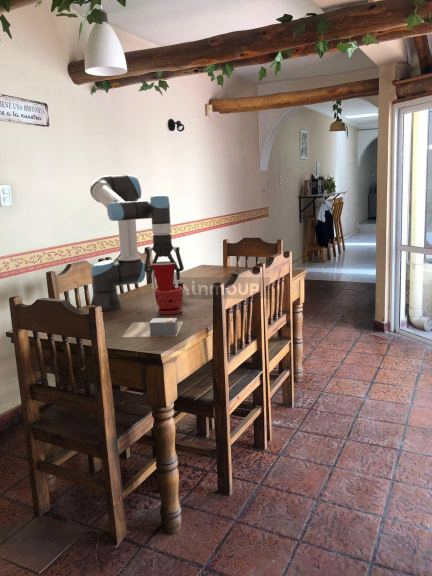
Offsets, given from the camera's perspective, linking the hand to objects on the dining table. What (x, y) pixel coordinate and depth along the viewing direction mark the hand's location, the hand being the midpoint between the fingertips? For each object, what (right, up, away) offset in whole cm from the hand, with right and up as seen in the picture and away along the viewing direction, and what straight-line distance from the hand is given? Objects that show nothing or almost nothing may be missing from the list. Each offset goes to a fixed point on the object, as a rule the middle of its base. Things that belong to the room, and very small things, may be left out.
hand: (165, 287), depth 201 cm
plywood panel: (-5, -19, -2) cm, 19 cm away
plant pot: (-1, -12, +28) cm, 31 cm away
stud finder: (+1, -18, -8) cm, 20 cm away
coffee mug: (+1, -7, +52) cm, 52 cm away
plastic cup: (0, -1, 0) cm, 1 cm away
